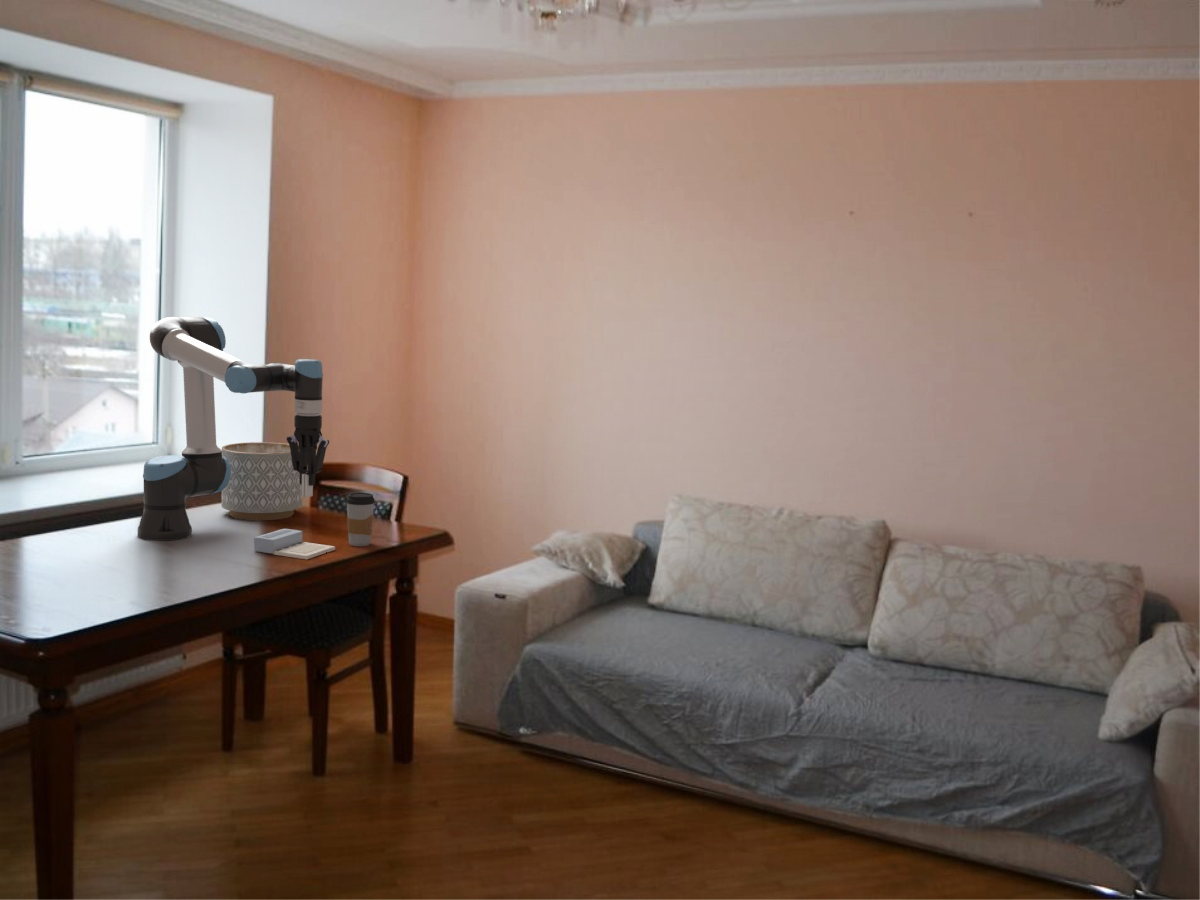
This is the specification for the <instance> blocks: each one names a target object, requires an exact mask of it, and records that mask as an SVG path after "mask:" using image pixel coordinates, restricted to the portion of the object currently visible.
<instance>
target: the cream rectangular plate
mask: <svg viewBox="0 0 1200 900" xmlns="http://www.w3.org/2000/svg"><path fill="white" fill-rule="evenodd" d="M335 550H336V546H334V545H328V544H319V543H314V542H313V543H312V542H306V541H302V542H300V543H298V544H294V545H291V546H288V547H285V548H282V549H278V550H276V551H274V554H273V555H275V556H281V557H282V556H283V557H288V558H295V559H302V560H310V559H312V558H315V557H317V556H320V555H325V554H326V552H327V553H330V552H333V551H335Z"/></svg>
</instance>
